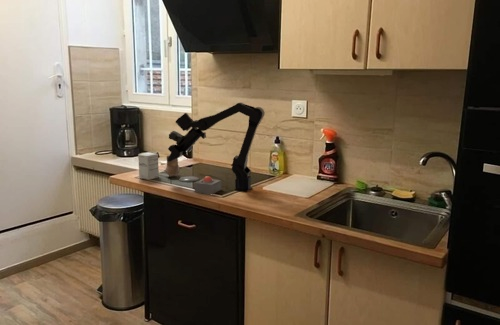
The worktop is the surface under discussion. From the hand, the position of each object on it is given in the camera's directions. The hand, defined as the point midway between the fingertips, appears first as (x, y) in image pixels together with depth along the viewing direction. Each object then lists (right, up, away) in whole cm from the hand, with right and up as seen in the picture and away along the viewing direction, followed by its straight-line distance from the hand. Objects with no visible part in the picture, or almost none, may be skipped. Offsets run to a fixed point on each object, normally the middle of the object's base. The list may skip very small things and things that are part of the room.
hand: (169, 160), depth 198 cm
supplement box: (-14, -9, +17) cm, 24 cm away
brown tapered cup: (+1, -6, +1) cm, 7 cm away
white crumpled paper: (-2, -9, +19) cm, 21 cm away
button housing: (+19, -14, -7) cm, 25 cm away
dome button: (+19, -14, -7) cm, 25 cm away
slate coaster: (+7, -10, +13) cm, 18 cm away
